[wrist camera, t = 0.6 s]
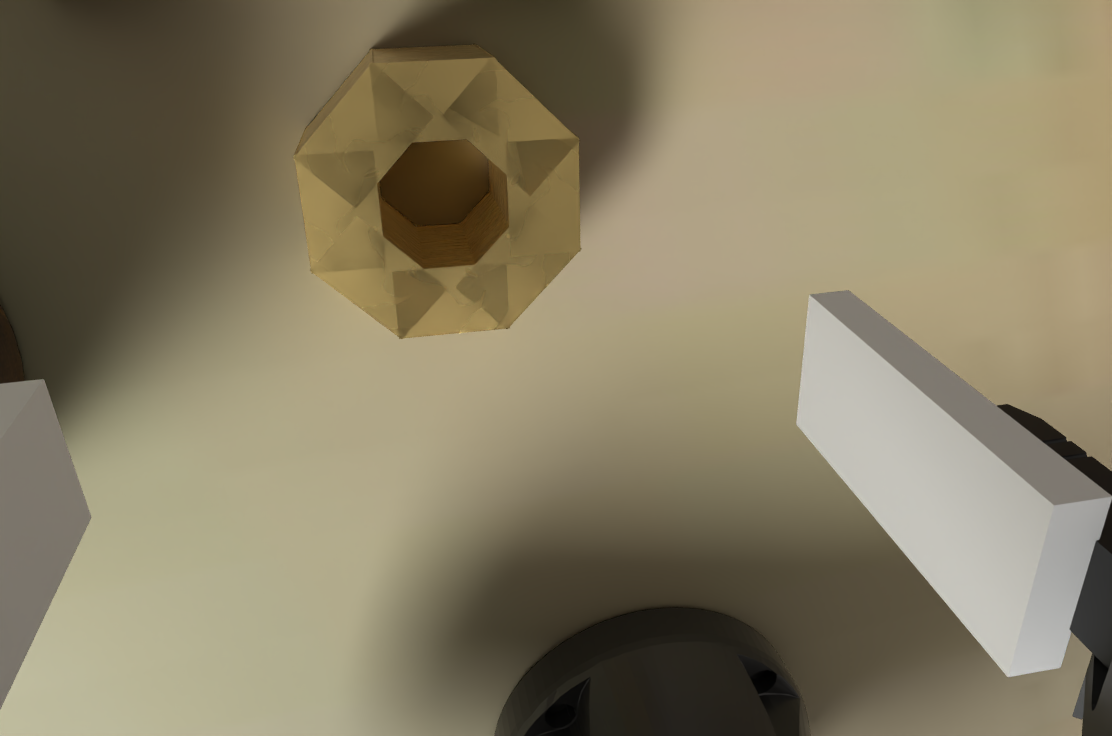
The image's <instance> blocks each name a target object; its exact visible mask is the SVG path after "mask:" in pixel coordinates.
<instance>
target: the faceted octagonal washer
mask: <svg viewBox="0 0 1112 736" xmlns="http://www.w3.org/2000/svg"><path fill="white" fill-rule="evenodd" d="M462 139H467V140H468V141H469V142H470V143H472V144H473V145H474V146H475V147H476V148H477V149H478V150H479V151H480V152H482V153H483V154H484V155H485V156H486V157H487V158H488V170H489V187H490V190H489V192H488V193H487V194H486V195H485V196H484V197H483V198H482V200H481V201H480V202H479V203H478V204H477V205H476V206H475V207H474V209H473V210H472V211H471V212H470V213H469V214H468V215H467V217H466V218H465V219H464V220H463V221H462V222H461V223H457V224H444V225H430V226H417V227H416V226H415V225H414V224H413V223H411V222H410V221H409V220H408V219H407V218H405V217H404V216H403V215H402V214H400V213H399V212H398V211H397V210H396V209H394V208H393V207H392V206H391V205H389V204H388V203H387V202H386V201H385V200H383V199H382V198H381V191H380V180H381V179H382V177H383V176H384V175H385V174H386V173H387V171H388V170H389V169H390V168H391V167H392V166H393V164H394V163H395V162H396V161H397V160H398V159H399V157H400V156H401V155H402V154H403V153H404V151H405V150H406V149H407V148H408V147H409V146H410V144H411V143H412V142H429V141H445V140H462ZM579 141H580V140H579V138H578V137H577V136H576V135H575V134H573V133H572V132H571V131H570V130H569V129H567V128H566V127H565V126H564V125H563V124H562V123H561V122H560V121H559V120H558V119H557V118H556V117H555V116H554V115H553V114H552V113H551V112H550V111H549V110H548V109H546V108H545V107H544V106H543V105H542V104H541V103H540V102H539V101H538V100H537V99H536V98H535V97H534V96H533V95H532V94H531V93H530V92H529V91H528V90H527V89H526V88H525V87H524V86H523V85H522V84H520V83H519V82H518V81H517V80H516V79H515V78H514V77H513V76H512V75H511V74H510V73H509V72H508V71H507V70H506V69H505V68H504V67H503V66H502V65H501V64H500V63H499V62H498V61H497V60H496V58H495V57H494V56H492V55H491V54H490V53H488V52H487V51H485V50H484V49H482V48H481V47H480V46H478V45H477V44H473V45H452V46H429V47H406V48H383V49H373V48H372V49H370V51H369V52H368V54H367V55H366V56H365V57H364V59H363V60H362V61H361V62H360V63H359V65H358V66H357V67H356V68H355V70H354V71H353V72H352V73H351V74H350V76H349V77H348V78H347V79H346V81H345V82H344V83H343V84H342V85H341V87H340V88H339V89H338V90H337V92H336V93H335V94H334V95H333V96H332V98H331V99H330V100H329V101H328V103H327V104H326V105H325V106H324V107H323V109H322V110H321V111H320V112H319V114H318V115H317V116H316V117H315V118H314V120H313V121H312V122H311V123H310V125H309V126H308V127H306V128H305V130H304V133H303V135H302V138H301V140H300V142H299V145H298V147H297V149H296V152H295V154H294V158H293V159H295V164H296V171H297V178H298V185H299V191H300V198H301V205H302V212H303V218H304V225H305V232H306V239H307V245H308V252H309V259H310V266H311V268H310V271H311V272H312V273H314V274H315V275H316V276H318V277H319V278H320V279H322V280H323V281H324V282H326V283H327V284H328V285H330V286H331V287H332V288H334V289H335V290H336V291H338V292H339V293H340V294H342V295H343V296H344V297H346V298H347V299H349V300H350V301H351V302H353V303H354V304H355V305H357V306H358V307H359V308H361V309H362V310H363V311H365V312H366V313H367V314H369V315H370V316H371V317H373V318H374V319H375V320H377V321H378V322H379V323H381V324H382V325H383V326H385V327H386V328H387V329H389V330H390V331H391V332H393V333H394V334H395V335H397V336H398V337H399V339H403V338H412V337H422V336H433V335H443V334H454V333H464V332H475V331H485V330H496V329H508V328H510V326H511V325H512V324H513V322H514V321H515V320H516V319H517V318H518V317H519V316H520V315H521V314H522V313H523V312H524V311H525V309H526V308H527V307H528V306H529V305H530V304H531V303H532V302H533V301H534V300H535V299H536V297H537V296H538V295H539V294H540V293H541V292H542V291H543V290H544V289H545V288H546V287H547V286H548V284H549V283H550V282H551V281H552V280H553V279H554V278H555V277H556V276H557V275H558V274H559V272H560V271H561V270H562V269H563V268H564V267H565V266H566V265H567V264H568V263H569V262H570V261H571V259H572V258H573V257H574V256H575V255H576V254H577V253H578V252H579V251H580V250H581V247H580V195H579Z"/></svg>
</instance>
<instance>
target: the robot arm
mask: <svg viewBox="0 0 1112 736" xmlns="http://www.w3.org/2000/svg"><path fill="white" fill-rule="evenodd" d="M796 424H797V426H798V427H799V428H800V429H801V430H802V432H803V433H804V434H805V435H806V436H807V438H808V439H809V440H810V441H811V442H812V444H813V445H814V446H815V447H816V448H817V450H818V451H819V452H820V453H821V454H822V456H823V457H824V458H825V459H826V460H827V462H828V463H829V464H830V465H831V466H832V468H833V469H834V470H835V471H836V472H837V474H838V475H839V476H840V477H841V478H842V479H843V481H844V482H845V483H846V484H847V485H848V487H849V488H850V489H851V490H852V491H853V493H854V494H855V495H856V496H857V497H858V499H859V500H860V501H861V502H862V503H863V505H864V506H865V507H866V508H867V509H868V511H869V512H870V513H871V514H872V515H873V517H874V518H875V519H876V520H877V521H878V523H879V524H880V525H881V526H882V527H883V529H884V530H885V531H886V532H887V533H888V535H889V536H890V537H891V538H892V539H893V540H894V542H895V543H896V544H897V545H898V546H899V548H900V549H901V550H902V551H903V552H904V554H905V555H906V556H907V557H908V558H909V560H910V561H911V562H912V563H913V564H914V566H915V567H916V568H917V569H918V570H919V572H920V573H921V574H922V575H923V576H924V578H925V579H926V580H927V581H928V582H929V584H930V585H931V586H932V587H933V588H934V590H935V591H936V592H937V593H938V594H939V596H940V597H941V598H942V599H943V600H944V601H945V603H946V604H947V605H948V606H949V607H950V609H951V610H952V611H953V612H954V613H955V615H956V616H957V617H958V618H959V619H960V621H961V622H962V623H963V624H964V625H965V627H966V628H967V629H968V630H969V631H970V633H971V634H972V635H973V636H974V637H975V639H976V640H977V641H978V642H979V643H980V645H981V646H982V647H983V648H984V649H985V651H986V652H987V653H988V654H989V655H990V657H991V658H992V659H993V660H994V661H995V662H996V664H997V665H998V666H999V667H1000V668H1001V670H1002V671H1003V672H1004V673H1005V674H1006V676H1007V677H1012V676H1018V675H1023V674H1029V673H1034V672H1040V671H1045V670H1051V669H1056V668H1061V665H1062V661H1063V658H1064V655H1065V651H1066V648H1067V645H1068V642H1069V638H1070V635H1071V632H1072V633H1073V634H1074V635H1075V636H1076V637H1077V638H1078V639H1079V640H1080V641H1081V642H1082V643H1083V644H1084V645H1085V646H1086V647H1087V648H1088V649H1089V650H1090V651H1091V652H1092V653H1093V654H1092V657H1091V660H1090V663H1089V666H1088V669H1087V672H1086V675H1085V678H1084V681H1083V684H1082V688H1081V691H1080V694H1079V697H1078V700H1077V703H1076V706H1075V709H1074V712H1073V715H1072V716H1073V717H1076V718H1079V719H1082V718H1083V727H1082V736H1112V471H1110V470H1109V469H1108V468H1106V467H1105V466H1104V465H1102V464H1101V463H1100V462H1098V461H1097V460H1096V459H1094V458H1093V457H1092V456H1091V457H1087V455H1086V452H1085V451H1084V450H1082V449H1081V448H1080V447H1078V446H1077V445H1076V444H1074V443H1073V442H1072V441H1068V442H1067V440H1066V437H1065V436H1064V435H1062V434H1061V433H1060V432H1058V431H1057V430H1056V429H1054V428H1053V427H1052V426H1050V425H1049V424H1048V423H1046V422H1045V421H1044V420H1042V419H1041V418H1038V417H1036V416H1034V415H1031V414H1029V413H1027V412H1024V411H1022V410H1020V409H1018V408H1015V407H1013V406H1011V405H1008V404H1005V405H997V406H996V405H995V404H993V403H992V402H991V401H990V400H988V399H987V398H986V397H984V396H983V395H982V394H981V393H979V392H978V391H977V390H976V389H974V388H973V387H972V386H970V385H969V384H968V383H967V382H965V381H964V380H963V379H961V378H960V377H959V376H958V375H956V374H955V373H954V372H952V371H951V370H950V369H949V368H947V367H946V366H945V365H944V364H942V363H941V362H940V361H938V360H937V359H936V358H935V357H933V356H932V355H931V354H929V353H928V352H927V351H926V350H924V349H923V348H922V347H920V346H919V345H918V344H917V343H915V342H914V341H913V340H912V339H910V338H909V337H908V336H906V335H905V334H904V333H903V332H901V331H900V330H899V329H897V328H896V327H895V326H894V325H892V324H891V323H890V322H888V321H887V320H886V319H885V318H883V317H882V316H881V315H880V314H878V313H877V312H876V311H874V310H873V309H872V308H871V307H869V306H868V305H867V304H865V303H864V302H863V301H862V300H860V299H859V298H858V297H857V296H855V295H854V294H853V293H851V292H850V291H849V290H846V291H837V292H828V293H819V294H810V295H809V303H808V313H807V323H806V333H805V343H804V353H803V363H802V373H801V383H800V393H799V402H798V412H797V422H796ZM90 519H91V515H90V512H89V509H88V506H87V503H86V500H85V497H84V494H83V491H82V488H81V485H80V483H79V480H78V477H77V474H76V471H75V468H74V465H73V462H72V459H71V456H70V453H69V451H68V448H67V445H66V442H65V439H64V436H63V433H62V430H61V427H60V424H59V421H58V418H57V416H56V413H55V410H54V407H53V404H52V401H51V398H50V395H49V392H48V389H47V386H46V384H45V381H44V379H39V380H30V381H21V382H12V383H3V384H0V709H1V707H2V705H3V703H4V701H5V699H6V696H7V694H8V692H9V690H10V688H11V686H12V684H13V682H14V680H15V677H16V675H17V673H18V671H19V669H20V667H21V665H22V663H23V661H24V658H25V656H26V654H27V652H28V650H29V648H30V646H31V644H32V642H33V640H34V637H35V635H36V633H37V631H38V629H39V627H40V625H41V623H42V621H43V618H44V616H45V614H46V612H47V610H48V608H49V606H50V604H51V602H52V599H53V597H54V595H55V593H56V591H57V589H58V587H59V585H60V583H61V580H62V578H63V576H64V574H65V572H66V570H67V568H68V566H69V564H70V562H71V559H72V557H73V555H74V553H75V551H76V549H77V547H78V545H79V543H80V540H81V538H82V536H83V534H84V532H85V530H86V528H87V526H88V524H89V521H90ZM495 736H811V734H810V728H809V722H808V716H807V712H806V708H805V705H804V702H803V699H802V696H801V694H800V691H799V689H798V687H797V685H796V684H795V682H794V680H793V678H792V677H791V675H790V673H789V672H788V670H787V668H786V667H785V665H784V663H783V662H782V660H781V658H780V657H779V655H778V653H777V652H776V650H775V649H774V648H773V646H772V645H771V644H770V643H769V642H768V641H767V640H766V639H765V638H764V637H763V636H762V635H761V634H759V633H758V632H757V631H755V630H754V629H753V628H751V627H749V626H748V625H746V624H744V623H742V622H740V621H738V620H736V619H734V618H731V617H728V616H726V615H723V614H719V613H716V612H711V611H706V610H700V609H691V608H660V609H652V610H645V611H640V612H635V613H630V614H626V615H623V616H619V617H616V618H613V619H610V620H607V621H605V622H602V623H599V624H597V625H595V626H593V627H590V628H588V629H586V630H584V631H582V632H580V633H578V634H577V635H575V636H573V637H571V638H570V639H568V640H566V641H565V642H563V643H562V644H560V645H559V646H557V647H556V648H555V649H553V650H552V651H551V652H549V653H548V654H547V655H546V656H545V657H543V658H542V659H541V660H540V661H539V662H538V663H537V664H536V665H535V666H534V667H533V668H532V669H531V670H530V671H529V672H528V673H527V674H526V675H525V676H524V677H523V679H522V680H521V681H520V682H519V684H518V685H517V686H516V688H515V689H514V691H513V692H512V694H511V695H510V697H509V699H508V700H507V702H506V704H505V706H504V708H503V710H502V712H501V715H500V718H499V720H498V723H497V727H496V731H495Z"/></svg>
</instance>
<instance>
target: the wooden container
mask: <svg viewBox="0 0 1112 736" xmlns="http://www.w3.org/2000/svg"><path fill="white" fill-rule="evenodd" d="M21 381H25V379H24V374H23V366H22V360H21V356H20V353H19V350H18V346H17V343H16V339H15V336H14V333H13V330H12V328H11V325H10V323H9V322H8V320H7V317H6V315H5V313H4V311H3V309H2V307H1V305H0V384H3V383H12V382H21Z"/></svg>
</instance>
